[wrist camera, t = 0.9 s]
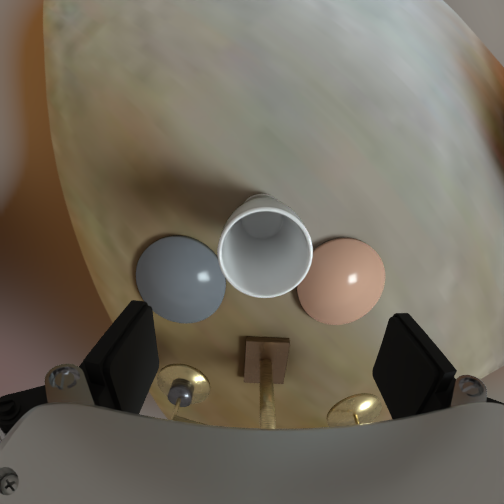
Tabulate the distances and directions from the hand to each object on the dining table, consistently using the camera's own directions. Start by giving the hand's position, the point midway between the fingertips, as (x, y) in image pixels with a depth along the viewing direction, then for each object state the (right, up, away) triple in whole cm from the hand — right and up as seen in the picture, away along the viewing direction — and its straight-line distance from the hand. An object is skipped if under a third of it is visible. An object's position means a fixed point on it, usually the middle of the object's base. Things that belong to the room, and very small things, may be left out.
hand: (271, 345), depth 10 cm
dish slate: (-10, 0, +26) cm, 28 cm away
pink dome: (+11, 0, +26) cm, 28 cm away
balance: (+1, -12, +30) cm, 32 cm away
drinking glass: (0, +8, +24) cm, 25 cm away
